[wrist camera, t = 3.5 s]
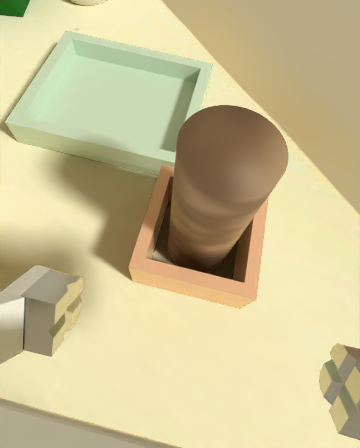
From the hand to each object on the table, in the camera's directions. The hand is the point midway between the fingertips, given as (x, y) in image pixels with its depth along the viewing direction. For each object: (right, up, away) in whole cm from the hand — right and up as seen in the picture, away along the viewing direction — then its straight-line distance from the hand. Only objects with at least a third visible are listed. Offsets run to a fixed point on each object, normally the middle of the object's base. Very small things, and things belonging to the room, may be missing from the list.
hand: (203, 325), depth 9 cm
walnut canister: (+1, +1, +18) cm, 18 cm away
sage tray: (-8, +16, +24) cm, 30 cm away
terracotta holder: (+1, +1, +18) cm, 18 cm away
